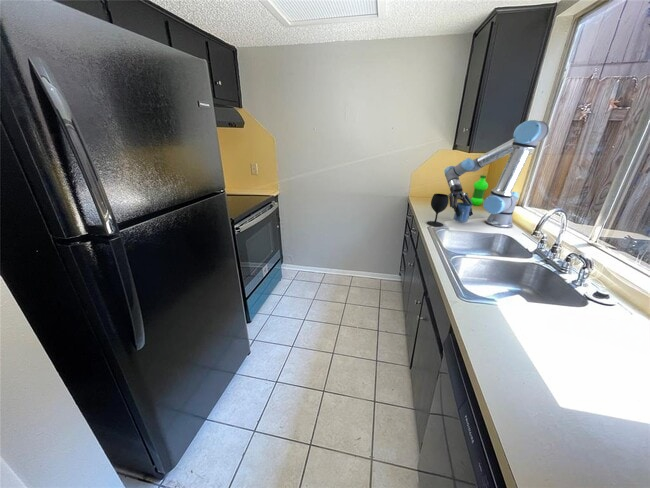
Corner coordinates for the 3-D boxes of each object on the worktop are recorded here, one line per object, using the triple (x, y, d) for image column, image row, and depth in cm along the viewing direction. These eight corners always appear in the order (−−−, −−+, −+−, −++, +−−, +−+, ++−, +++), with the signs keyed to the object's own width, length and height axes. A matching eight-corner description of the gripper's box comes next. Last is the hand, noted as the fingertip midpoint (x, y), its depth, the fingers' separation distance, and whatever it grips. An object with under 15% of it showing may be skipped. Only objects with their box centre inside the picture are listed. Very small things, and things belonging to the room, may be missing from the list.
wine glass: (444, 227, 169) (451, 197, 161) (428, 225, 170) (434, 196, 162) (441, 222, 178) (447, 193, 170) (425, 221, 180) (431, 192, 172)
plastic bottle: (466, 203, 229) (473, 174, 219) (477, 203, 230) (485, 174, 220) (473, 206, 220) (481, 176, 210) (484, 206, 221) (493, 176, 211)
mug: (453, 216, 183) (457, 201, 179) (467, 219, 180) (472, 203, 175) (452, 221, 173) (456, 205, 169) (467, 224, 170) (472, 208, 165)
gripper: (465, 189, 186) (474, 217, 179) (438, 190, 182) (447, 218, 174) (472, 183, 180) (482, 212, 172) (444, 184, 175) (454, 213, 168)
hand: (465, 215), depth 173 cm, fingers closed on mug, 9 cm apart
